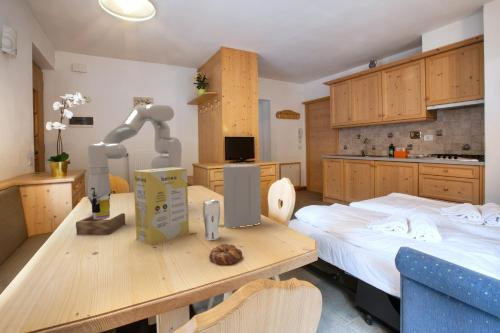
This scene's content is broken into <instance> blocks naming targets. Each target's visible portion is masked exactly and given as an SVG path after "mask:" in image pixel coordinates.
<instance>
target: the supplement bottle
mask: <svg viewBox="0 0 500 333" xmlns="http://www.w3.org/2000/svg"><path fill="white" fill-rule="evenodd" d="M95 197H97V196H95ZM96 199H97V198H95V200H96ZM109 201H110V200H109V197H108V196H107V195H104V196H102V197H100V199H99V203H98V204H100V213H93V214H92V215H93V219H95V220H108V219H109V218H110V217H111V214H110V213H111V211H110V210H111V209H110V208H109Z"/></svg>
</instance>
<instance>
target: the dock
mask: <svg viewBox="0 0 500 333" xmlns="http://www.w3.org/2000/svg"><path fill="white" fill-rule="evenodd" d="M75 226H76V227H75V229H76V236H77V235H78V236H80V235H81V236H87V235H88V236H98V235H99V236H102V235H104V236H109V235H111V234H112V233H114V232H116V231H117V230H120V229H121V228H122V227H124V226H126V213H120V214H118V215H116V216H115V217H112V218H110V219H102V220H95V219H93V214H92V215H90V216H89V215H88V216H87V217H84V218H83V219H80V220H78V221H76V222H75Z"/></svg>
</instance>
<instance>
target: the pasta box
mask: <svg viewBox="0 0 500 333" xmlns="http://www.w3.org/2000/svg"><path fill="white" fill-rule="evenodd" d="M132 175H133V176H132V177H133V193H134V194H133V196H134V199H133V200H134V216H135V220H134V221H135V231H136V232H135V235H136V240H137V241H139V242H142V243H145V244H147V245H150V246H153V245H156V244H159V243H162V242H165V241H167V240H170V239H173V238H175V237H179V236H181V235H184V234H187V233H189V232H190V226H189V224H190V223H189V197H188V196H189V193H188V191H189V190H188V168H186V167H185V168H184V167H180V168H175V167H170V168H159V169H152V168H151V169H141V170H140V169H139V170H138V169H137V170H132Z"/></svg>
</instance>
